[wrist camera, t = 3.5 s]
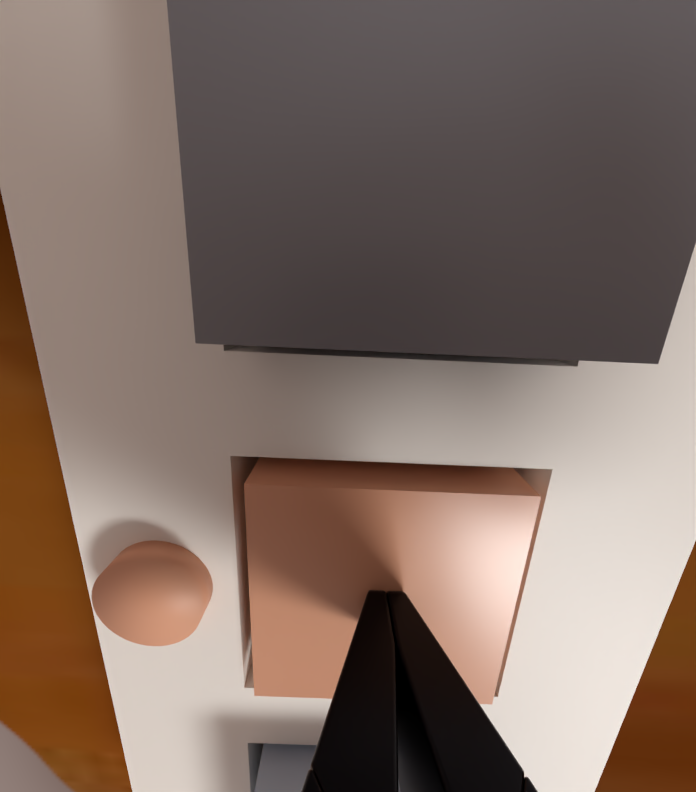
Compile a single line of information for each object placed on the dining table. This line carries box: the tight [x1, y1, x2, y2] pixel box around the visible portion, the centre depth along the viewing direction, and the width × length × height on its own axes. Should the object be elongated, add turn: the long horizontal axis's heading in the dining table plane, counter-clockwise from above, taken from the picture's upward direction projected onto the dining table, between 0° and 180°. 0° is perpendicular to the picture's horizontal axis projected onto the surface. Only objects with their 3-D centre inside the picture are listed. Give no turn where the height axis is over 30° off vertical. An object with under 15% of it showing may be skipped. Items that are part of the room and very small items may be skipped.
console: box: [0, 0, 696, 792], centre depth 9 cm, size 28×14×4 cm, turn 177°
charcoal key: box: [167, 0, 696, 364], centre depth 5 cm, size 6×6×3 cm
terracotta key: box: [244, 457, 541, 704], centre depth 9 cm, size 6×6×3 cm
